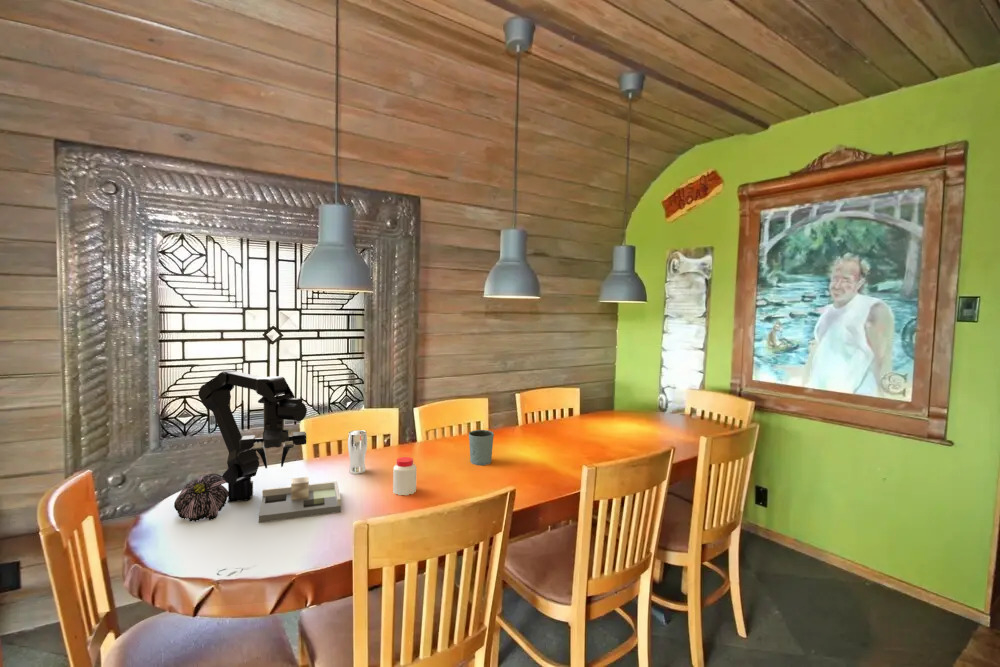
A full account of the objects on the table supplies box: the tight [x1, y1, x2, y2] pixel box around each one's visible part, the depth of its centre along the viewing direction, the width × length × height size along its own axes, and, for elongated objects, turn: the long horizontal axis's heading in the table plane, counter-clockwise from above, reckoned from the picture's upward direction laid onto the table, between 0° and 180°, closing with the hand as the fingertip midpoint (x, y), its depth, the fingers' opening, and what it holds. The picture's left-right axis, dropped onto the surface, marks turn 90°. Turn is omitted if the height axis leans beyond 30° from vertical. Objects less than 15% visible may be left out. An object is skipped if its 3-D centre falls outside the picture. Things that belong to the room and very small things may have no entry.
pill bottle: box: [392, 456, 417, 496], centre depth 168 cm, size 8×8×11 cm
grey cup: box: [468, 429, 495, 466], centre depth 200 cm, size 10×10×12 cm
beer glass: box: [347, 429, 368, 475], centre depth 186 cm, size 7×7×15 cm
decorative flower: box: [173, 473, 229, 523], centre depth 147 cm, size 15×12×15 cm
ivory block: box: [290, 476, 310, 500], centre depth 157 cm, size 5×5×5 cm
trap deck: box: [258, 480, 342, 524], centre depth 153 cm, size 22×16×4 cm
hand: (274, 467), depth 154 cm, fingers open, 4 cm apart
